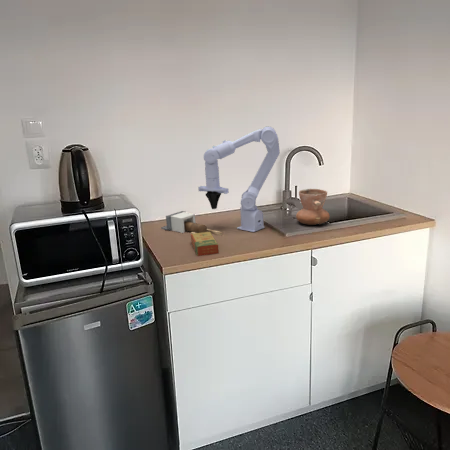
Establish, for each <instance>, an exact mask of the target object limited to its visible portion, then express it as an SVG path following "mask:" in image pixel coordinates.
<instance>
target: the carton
mask: <svg viewBox="0 0 450 450" xmlns="http://www.w3.org/2000/svg"><path fill="white" fill-rule="evenodd" d="M190 240H191V241H190V242H191V244H192V247H193V249H194V253H195V254H196V256H197V257H201V256H209V255H216V254H220V253H219V252H220V250H219V249H220V248H219V242H217V240H216V239H215V238H214V236H213V233H210V232H203V233H195V234H191V233H190Z"/></svg>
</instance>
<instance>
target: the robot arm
mask: <svg viewBox="0 0 450 450" xmlns="http://www.w3.org/2000/svg"><path fill="white" fill-rule="evenodd" d="M279 141H280V140H279V137H278V134H277V131H276V130H275V128H274V127H272V126H265V127H263V128H258V129H256V130H253V131H251V132H249V133H247V134H245V135H243V136H241V137H239V138H238V139H236V140H235V139H234V141H231V140H230V139H229V140H226V139H225V140H222V143H219V144H217V145H216V146H215V145H213V146H212V147H211V148H208V149H207V150H206V151H205V152H204V154H203V160H204V166H205V167H204V168H205V169H204V172H205V173H204V174H205V185H203V186H202V185H200V186H197V187H198V192H205V196H206V198H207V199H208V201H209V204H210V205H209V206H210V207H211V209H212V210H216V209H218V204H219V200H220V198H221V195H222V194H224V195H227V194H229V188H227V187H223V186H220V170H219V169H220V168H219V161H218V160H222V159H225V158H226V157H228V156H231V155H233V154H235V151H236V149H238V148H241V147H243V146H246V145H247V144H249V143H252V142H255V143H261V142H262V144H264V146H265V148H266V150H267V151H266V152H267V153H266V155H265V157H264V158H263V160H262V162H261V164H260V166H259V168H258V170H257V171H256V174H255V176H254V177H253V179H252V181H251V183H250V185H249V186H248V187H247V189H246V190H245V191H244V192H243V193H242V194H241V199H240V209H239V210H240V226H238V227H236V229H237V230H243V231H245V232H246V231H248V232H251V233H255V232H258V231H260V230H262V229H264V228H265V225H264V213H263V211H262V210H260V209H258V206H257V205H256V201H257V198H258V195H259V194H260V191H261V190H262V187H263V185H264V183H265V182H266V180H267V178H268V176H269V174H270V172H271V170H272V169H273V166H274V165H275V163H276V161H277V159H278V157H279V156H280V143H279Z"/></svg>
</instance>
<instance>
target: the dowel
mask: <svg viewBox="0 0 450 450" xmlns="http://www.w3.org/2000/svg"><path fill="white" fill-rule="evenodd" d="M184 229H185V232H189V233H191V232H195V233H203V232H206V230H207V229H208V228H207V225H206V224H201V223H196V222H195V223H191V222H186V221H184Z"/></svg>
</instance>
